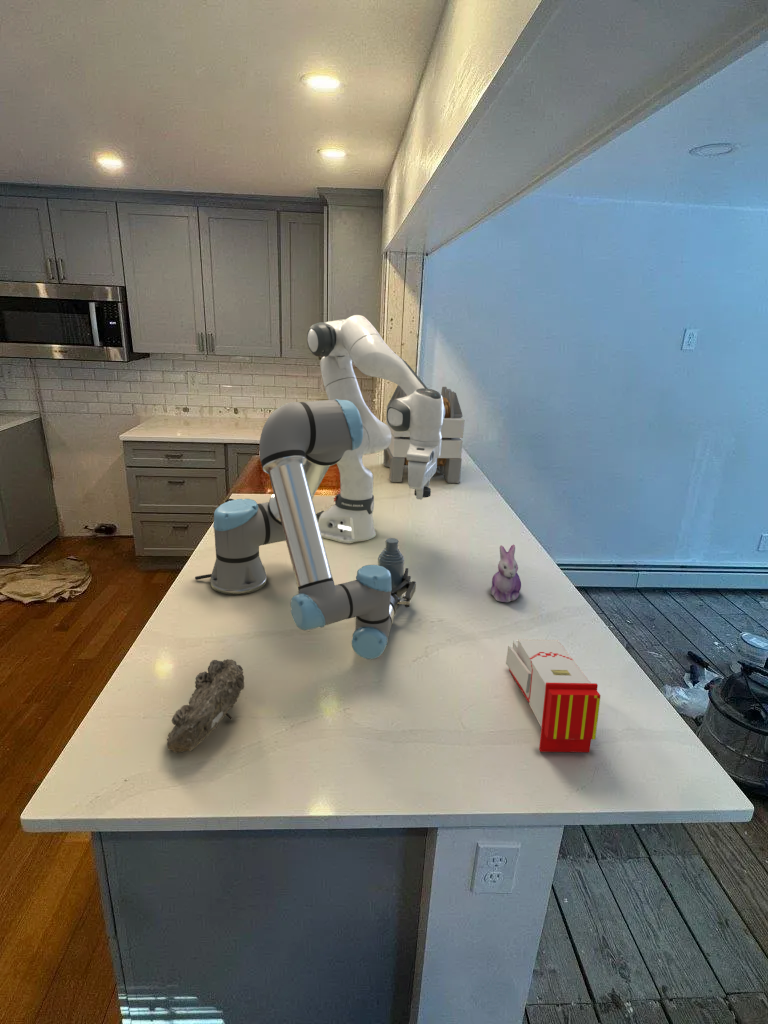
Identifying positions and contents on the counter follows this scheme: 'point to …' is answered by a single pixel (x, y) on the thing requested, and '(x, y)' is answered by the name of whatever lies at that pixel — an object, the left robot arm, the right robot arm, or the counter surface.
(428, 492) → the cap
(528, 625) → the counter surface
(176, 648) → the counter surface
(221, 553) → the left robot arm
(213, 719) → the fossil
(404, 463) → the transformer
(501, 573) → the figurine
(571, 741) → the toy
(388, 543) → the bottle
